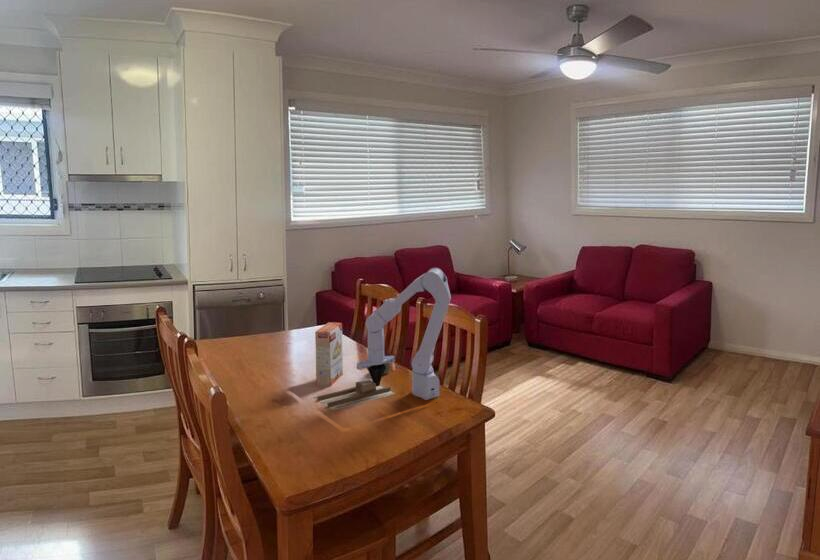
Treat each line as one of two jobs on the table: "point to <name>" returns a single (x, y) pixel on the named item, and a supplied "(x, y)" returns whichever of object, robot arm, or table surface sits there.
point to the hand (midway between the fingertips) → (376, 385)
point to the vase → (386, 368)
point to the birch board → (351, 397)
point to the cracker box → (328, 354)
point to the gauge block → (365, 386)
